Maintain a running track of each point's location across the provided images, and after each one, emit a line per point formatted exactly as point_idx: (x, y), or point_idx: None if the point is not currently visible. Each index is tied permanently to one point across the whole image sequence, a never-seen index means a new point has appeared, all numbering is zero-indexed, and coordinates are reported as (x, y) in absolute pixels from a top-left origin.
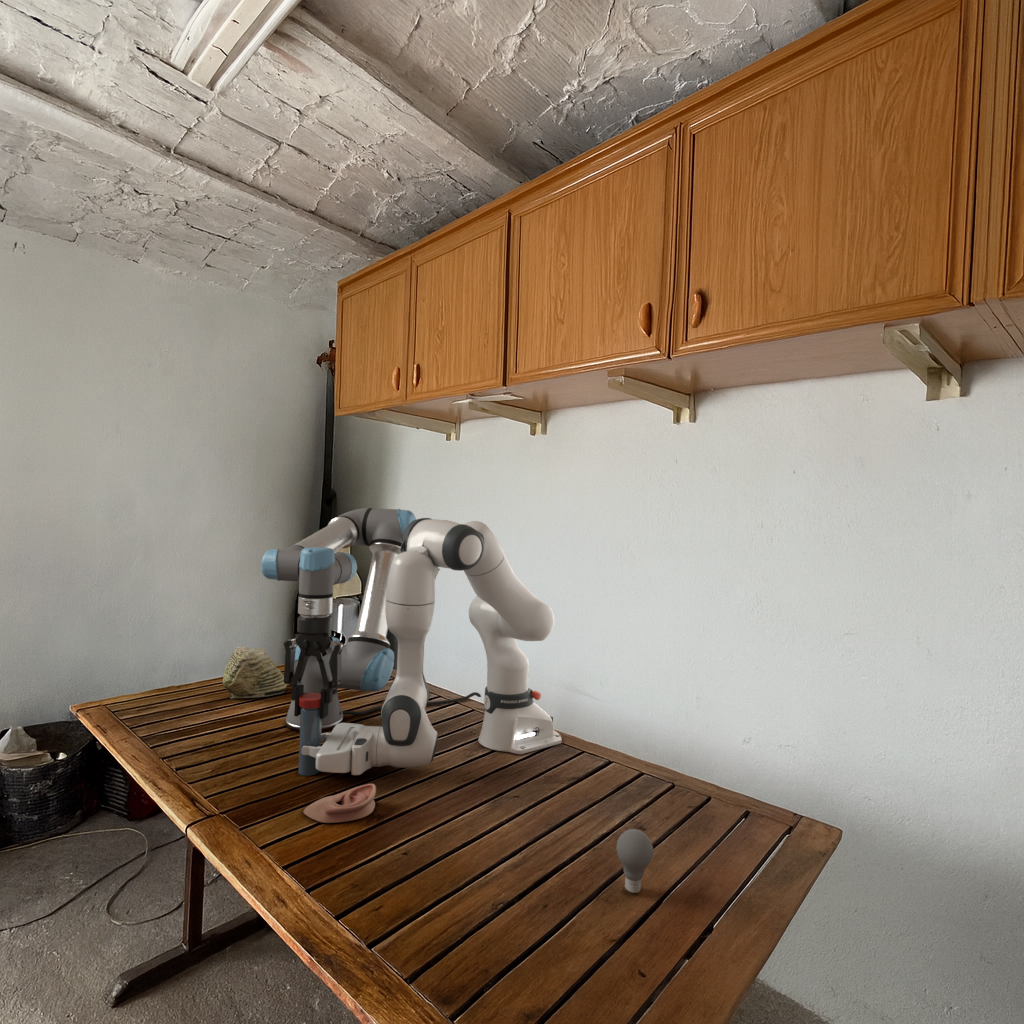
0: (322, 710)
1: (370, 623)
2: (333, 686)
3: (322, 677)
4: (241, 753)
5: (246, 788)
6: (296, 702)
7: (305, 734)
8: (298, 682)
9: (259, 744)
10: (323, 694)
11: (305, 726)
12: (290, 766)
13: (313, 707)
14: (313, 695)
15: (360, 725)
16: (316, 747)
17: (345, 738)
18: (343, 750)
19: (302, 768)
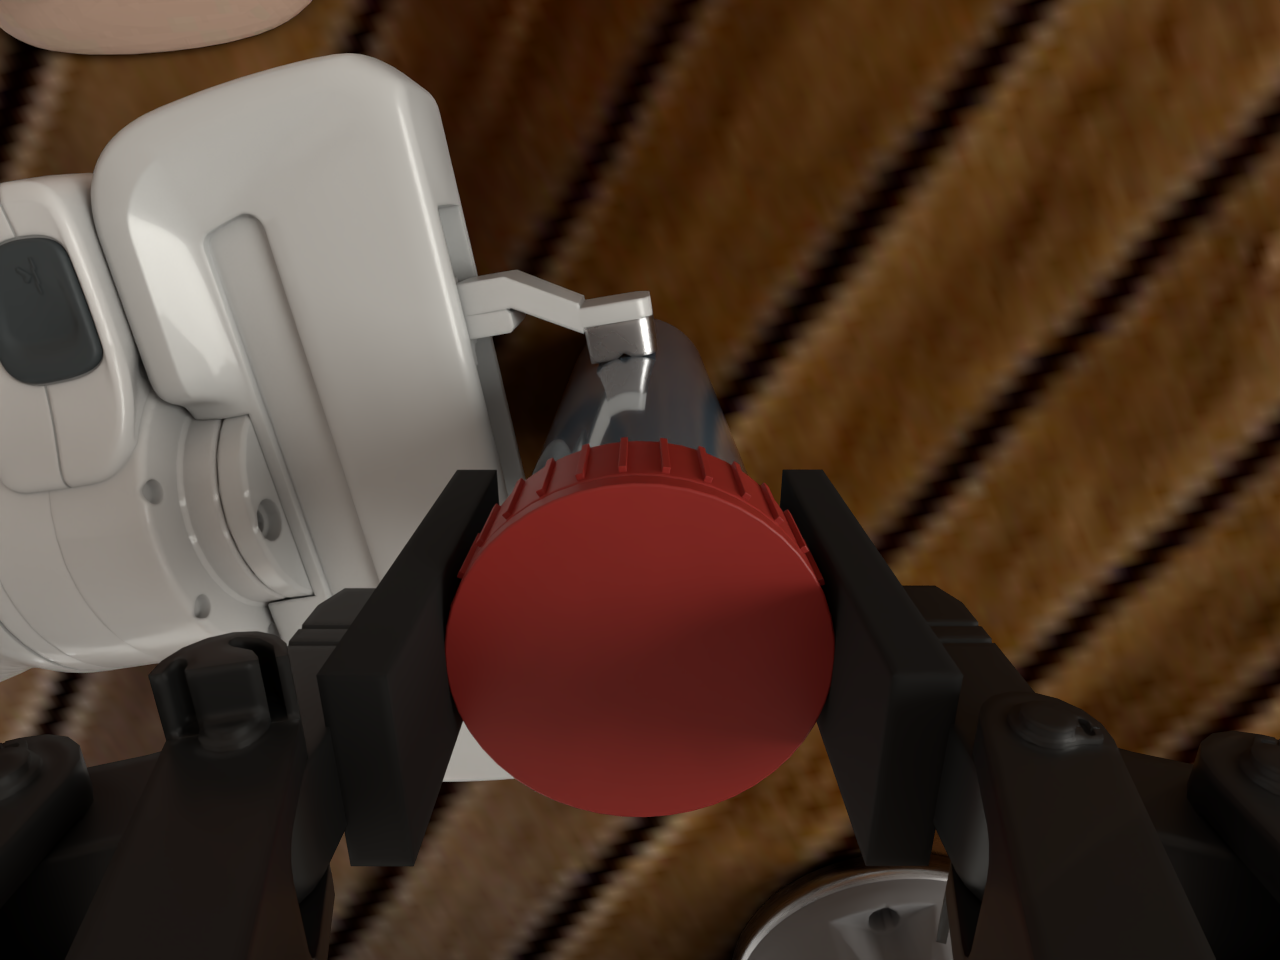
0: (443, 508)
1: None
2: (54, 755)
3: (240, 937)
4: (1155, 531)
5: (935, 40)
6: (845, 544)
7: (645, 375)
8: (974, 845)
9: (1089, 665)
10: (358, 626)
11: (650, 395)
12: (784, 425)
13: (541, 473)
14: (640, 715)
15: None
16: (512, 303)
17: (350, 507)
18: (138, 148)
19: (657, 326)
